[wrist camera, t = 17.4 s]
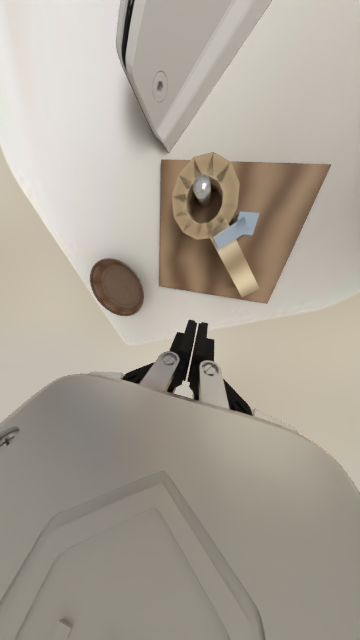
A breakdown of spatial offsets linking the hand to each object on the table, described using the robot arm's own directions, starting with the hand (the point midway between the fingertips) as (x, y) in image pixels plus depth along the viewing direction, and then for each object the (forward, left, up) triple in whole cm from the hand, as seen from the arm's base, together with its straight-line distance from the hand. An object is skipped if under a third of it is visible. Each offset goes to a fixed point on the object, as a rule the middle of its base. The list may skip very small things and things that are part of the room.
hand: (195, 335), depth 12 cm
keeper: (-2, -8, -22) cm, 24 cm away
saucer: (+22, +6, -23) cm, 32 cm away
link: (-1, -8, -21) cm, 22 cm away
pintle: (+3, -13, -22) cm, 26 cm away
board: (-1, -7, -22) cm, 23 cm away
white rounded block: (+7, -27, -22) cm, 36 cm away
